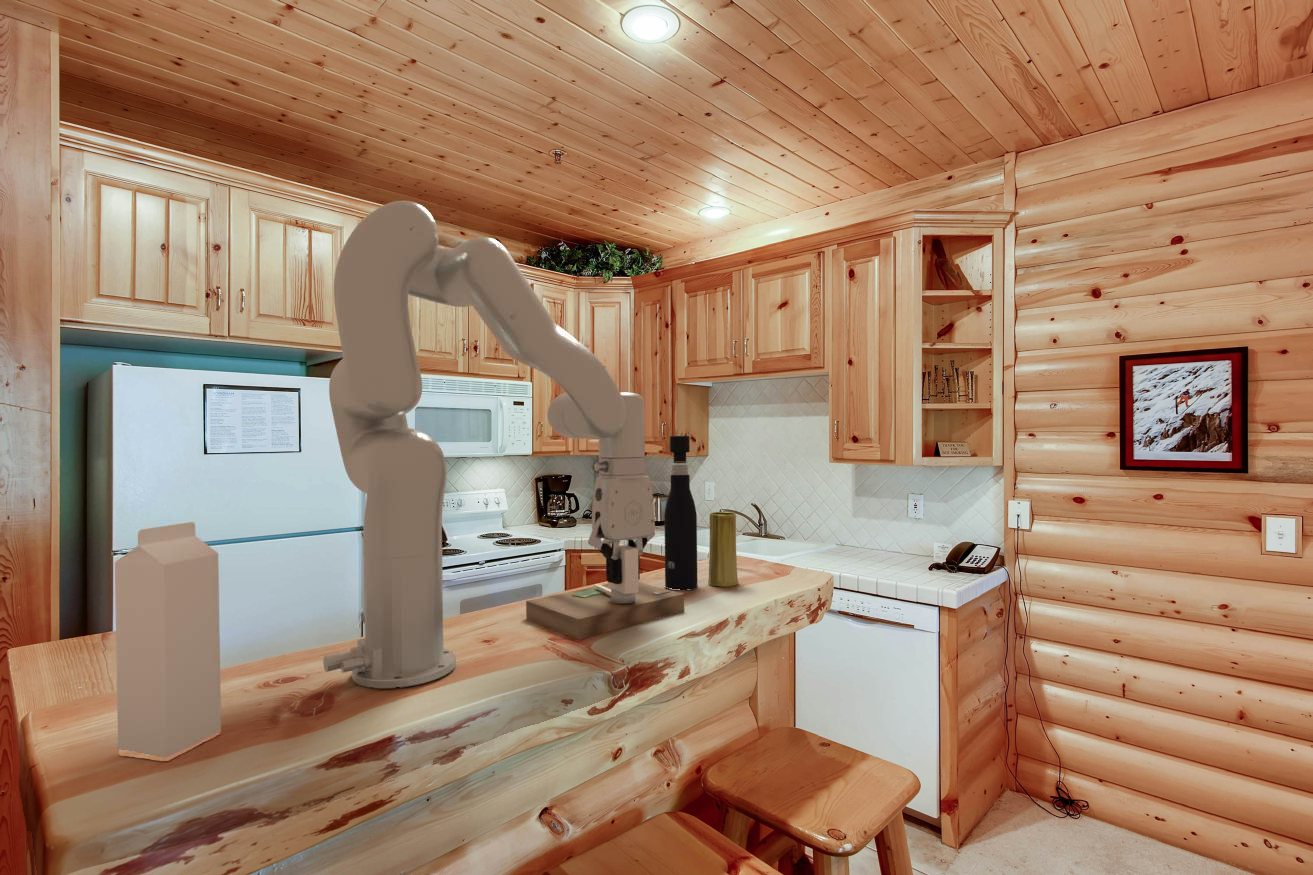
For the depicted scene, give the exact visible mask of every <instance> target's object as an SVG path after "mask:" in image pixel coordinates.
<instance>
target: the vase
mask: <svg viewBox="0 0 1313 875" xmlns="http://www.w3.org/2000/svg"><path fill="white" fill-rule="evenodd" d="M736 515H737V514H736V513H735V512H732V511H713V512H710V513H709V560H708V561H709V562H708V563H709V564H708V581H707V582H708V584H709V586H712V585H713V586H712V587H717V586H720V587H719V588H730V587H735V586H737V585H739V579H738V564H737V563H738V562H737V560H738V559H737V558H738V557H737V532H736V531H737V528H736V527H737V524H736V522H737V520H736V519H737V518H736V517H737V516H736Z"/></svg>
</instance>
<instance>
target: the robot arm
mask: <svg viewBox="0 0 1313 875" xmlns="http://www.w3.org/2000/svg"><path fill="white" fill-rule="evenodd" d="M334 272H335V273H334V278H333V299H334V300H333V301H334V309H335V316H336V322H337V328H338V329H337V330H338V335H339V341H340V346H341V352H342V359H341V360H339V362H338V363H337V364H336V365H335V366H334V368H333V370H332V372H331V375H330V377H329V385H328V387H329V388H328V394H329V402H330V407H331V413H332V417H333V422H334V426H335V430H336V436H337V437H336V438H337V441H338V445H339V450H340V453H341V454H340V455H341V458H342V463H343V465H344V469H345V471H346V475H347V477H348V479H349V481H350V482H351V483H352V485H353V486H354V487H356V488H357V489H358V490H359V491H361V492H362V493H364V494H366V501H365V509H364V516H363V517H364V518H363V532H362V533H363V534H362V537H363V538H362V542H363V545H362V549H363V582H364V585H363V586H364V587H363V588H364V591H363V592H364V637H363V638H359V639H357V646H353V647H350V650H349V651H346V652H342V653H341V652H337V653H332V654H328V655H324V656H323V659H322V660H323V661H322V662H323V668H324V672H326V673H328V672H331V671H332V672H333V671H336V670H339V669H341V673H342V674H344V673H347V672H351V679H352V681H354V683H356V684H357V685H360V686H362V687H365V686H366V688H370V687H374V688H373V689H397V688H396V687H400V688H407V687H411V686H417V685H418V686H419V685H421V684H426V683H428V682H429V683H430V682H432V681H435V680H438V679H440V678H442V677H444V676H446V675H447V674H449V673H451V672H452V671H453V670H455V668H456V666H457V657H456V654H455V653H454V652H453V651H451V650H449V649H446V648H444V597H443V596H444V594H443V593H444V588H443V584H444V583H443V582H444V580H443V544H442V543H443V534H442V532H443V526H442V525H443V508H444V507H443V506H444V500H445V491H446V484H447V471H448V470H447V461H446V458H445V454H444V452H443V450H442V448H441V446H440V445H439V444H438V442H437V441H436V440H435V439H434V438H433V437H432V436H430V435H429V434H427V433H425V432H424V431H421V430H419V429H414V428H410V427H409V425H408V420H407V415H406V414H408V413H410V412H411V411H412V410H413V409H415V407H416V406H417V405H418V403H420V399H421V397H422V394H423V380H422V376H421V375H422V373H421V369H420V366H419V361H418V356H417V352H416V347H415V340H414V336H413V331H412V326H411V320H410V314H409V313H410V312H409V296H412V297H416V298H418V299H422V300H426V301H430V302H433V303H437V304H442V305H446V306H451V307H455V308H456V307H457V308H467V307H473V309H474V310H475V312H476V313H477V314H478V316H479V317H480V319H481V320H482V321H483V322H484V323H485V325H486V327H487V328H488V329H489V331H490V333H491V334H492V335H493V337H494V339H495V340H496V341H497V343H498V344H499V346H500V347H501V349H502V350H503V351H504V352H505V354H506V355H507V356H509V357H510V358H512V359H514V360H516V361H517V362H519V363H521V364H523V365H526V366H528V367H530V368H533V369H535V370H537V371H540V372H541V373H542V374H545V376H548V378H550V379H551V380H552V381H554V383H556V384H557V385H558V386H559V387H561V388H562V390H563V391H564V393H561V394H559V395H557V396H555V398H554V399H552V401H551V402H550V404H549V406H548V408H547V413H546V414H547V415H546V416H547V420H548V424H549V425H550V427H551V428H552V430H553V431H554V432H555V433H556V434H557V435H559V436H561V437H564V438H569V439H598V462H595V463H594V466H593V469H594V471H596V472H598V477H596V480H595V484H594V489H593V490H594V491H593V496H592V506H591V507H592V511H591V529H592V531H591V533H590V536H589V537H588V540H587V544H588V545H589V546H590V547H593V548H595V549H597V550H598V551H599V553H601V554H602V557H603V558H605V572H606V573H605V576H606V581H607V583H608V582H610V583H614V584H621V583H622V561H621V559H618V557H619V544H620V543H621V541H626V542H625V543H626V544H625V545H627V546H631V547H634V548H638V581H640V580H641V577H640V576H641V575H640V572H641V567H640V562H641V560H640V557H641V556H642V555H643V554H644V549H645V547H646V545H647V544H648V542H650V541H651V540H652V539H653V538H654V537H655V535H656V532H655V529H656V523H655V522H656V520H655V519H656V518H655V503H654V494H653V488H652V484H651V481H650V476H648V475H646V457H645V456H646V455H645V451H646V448H645V446H646V445H645V444H646V443H645V441H646V439H645V438H646V437H645V434H646V433H645V401H644V397H643V396H642V395H641V394H639V393H634V392H621V391H620V389H619V388H618V386H617V384H616V382H615V381H614V379H613V377H612V376H611V375H610V373H609V372H608V370H607V369H606V367H605V365H603V363H602V362H601V361H600V359H598V357H597V356H596V355H595V354H594V353H593V352H592V351H591V350H590V349H589V348H587V347H586V346H585V345H583V343H581V342H580V341H579V340H577V339H576V338H575V337H574V336H573V335H572V334H570V333H569V332H567V331H566V330H565V329H563V327H561V326H559V325H558V324H557V323H556V321H554V318H552V316H551V315H550V313H549V312H548V310H547V309H546V308H545V306H544V305H543V303H542V301H541V300H540V298H539V296H538V295H537V294H536V292H535V290H534V289H533V287H532V286H531V284H530V283H529V281H528V280H527V278H526V277H525V275H524V274H523V271H521V269H520V268H519V266H518V264H517V263H516V261H515V260H514V258H513V257H512V256H511V254H510V252H509V251H508V250H507V249H506V247H505V246H504V245H503V244H502V243H500V242H499V241H498V240H496V239H495V238H492V237H487V236H485V237H484V236H480V237H475V238H471V239H468V240H465V241H464V242H462V243H460V244H458V245H456V246H455V247H452V248H450V247H447V246H446V247H445V246H441V245H439V231H438V226H437V222H436V220H435V219H434V217H433V215H432V214H431V212H430V211H429V210H428V209H427V208H426V207H424V206H423V205H422V204H420V203H418V202H415V201H411V200H395V201H391V202H388V203H385V204H383V205H382V206H379V207H378V208H376V209H375V210H373V211H372V212H370V213H369V214H368V215H367V216H365V217H364V218H363V219H362V220H361V221H360V222H359V223H358V224H357V225H356V226H355V228H354V229H353V230H352V232H351V233H350V235H349V237H348V238H347V240H346V242H345V244H344V246H343V248H342V250H341V251H340V255H339V257H338V260H337V263H336V267H335V271H334ZM602 539H603V541H602ZM611 544H612V547H611Z"/></svg>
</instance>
